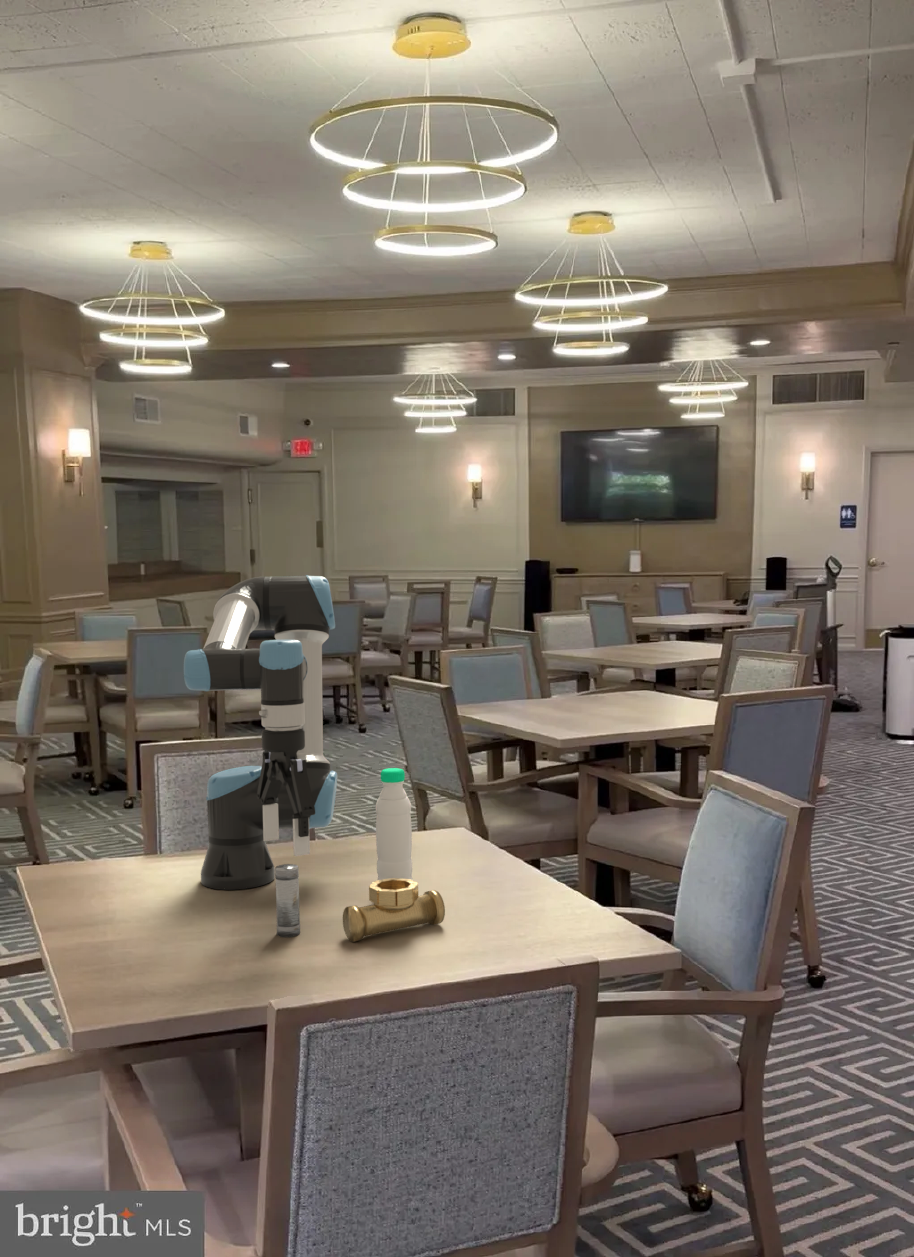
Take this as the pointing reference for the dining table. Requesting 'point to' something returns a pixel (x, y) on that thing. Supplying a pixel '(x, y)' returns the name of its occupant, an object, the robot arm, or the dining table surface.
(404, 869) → the water bottle
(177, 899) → the dining table surface
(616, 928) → the dining table surface
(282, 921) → the metal cylinder
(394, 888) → the tee fitting
